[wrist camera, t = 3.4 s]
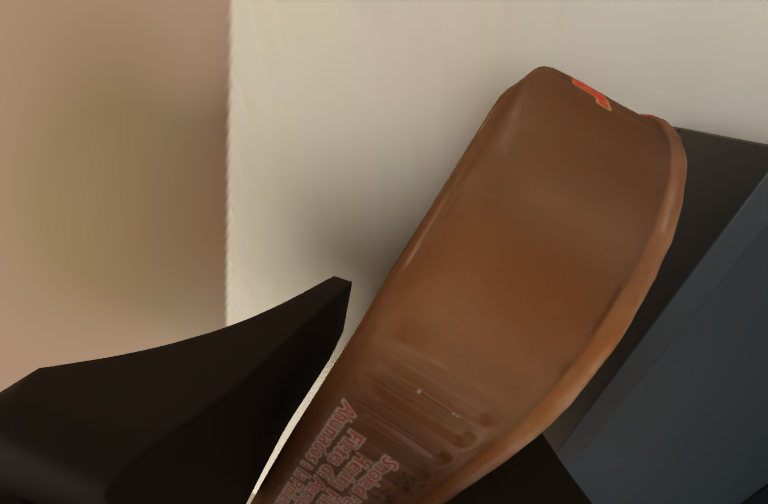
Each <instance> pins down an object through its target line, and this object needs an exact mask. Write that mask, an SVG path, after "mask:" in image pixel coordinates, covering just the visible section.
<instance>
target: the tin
mask: <svg viewBox="0 0 768 504" xmlns="http://www.w3.org/2000/svg"><path fill="white" fill-rule="evenodd" d="M686 175H687V158H686V153H685V150H684V147H683V144H682V141H681V137H680V136H679V134H678V133H677V131H676V130H675V129H674V128H673V127H672V126H671V125H670V124H669V123H667V122H666V121H665V120H663V119H660V118H658V117H655V116H653V115H646V114H637V113H635V112H633V111H631V110H629V109H628V108H626V107H624V106H622V105H620V104H618V103H616V102H615V101H613V100H611V99H610V98H608V97H606V96H604V95H603V94H601V93H599V92H597V91H596V90H594V89H592V88H591V87H589V86H587V85H585V84H584V83H582V82H580V81H578V80H576V79H574V78H573V77H570V76H568V75H566V74H564V73H562V72H560V71H558V70H556V69H554V68H550V67H546V66H543V67H538V68H536V69H534V70H533V71H531V72H530V73H529V74H528V75H526V76H525V77H524V78H523V79H522V80H520V81H519V82H518V83H516V84H515V85H513V86H512V87H510V88H509V89H507V90H506V91H505V92H504V93H503V94H502V95H501V96H500V97H499V99H498V100H497V101H496V103H495V104H494V106H493V107H492V109H491V110H490V112H489V114H488V115H487V117H486V118H485V120H484V122H483V123H482V125H481V127H480V128H479V130H478V132H477V133H476V135H475V136H474V138H473V140H472V141H471V143H470V145H469V146H468V148H467V149H466V151H465V153H464V154H463V156H462V158H461V159H460V161H459V163H458V164H457V166H456V168H455V169H454V171H453V173H452V174H451V176H450V177H449V179H448V181H447V182H446V184H445V185H444V187H443V189H442V190H441V192H440V193H439V195H438V197H437V198H436V200H435V202H434V203H433V205H432V206H431V208H430V210H429V211H428V213H427V214H426V216H425V217H424V219H423V221H422V222H421V224H420V225H419V227H418V229H417V230H416V232H415V233H414V235H413V236H412V238H411V240H410V241H409V243H408V244H407V246H406V248H405V249H404V251H403V252H402V254H401V256H400V257H399V259H398V260H397V262H396V264H395V265H394V267H393V269H392V270H391V272H390V273H389V275H388V277H387V278H386V280H385V282H384V283H383V285H382V287H381V288H380V290H379V292H378V293H377V295H376V297H375V299H374V300H373V302H372V304H371V305H370V307H369V309H368V310H367V312H366V314H365V316H364V317H363V319H362V321H361V323H360V324H359V326H358V328H357V329H356V331H355V333H354V334H353V336H352V337H351V339H350V341H349V342H348V344H347V345H346V347H345V348H344V350H343V352H342V353H341V355H340V356H339V358H338V359H337V361H336V362H335V364H334V366H333V367H332V369H331V370H330V372H329V374H328V375H327V377H326V378H325V380H324V382H323V383H322V385H321V386H320V388H319V390H318V391H317V393H316V394H315V396H314V398H313V399H312V401H311V402H310V404H309V405H308V407H307V409H306V410H305V412H304V413H303V415H302V417H301V418H300V420H299V421H298V423H297V425H296V426H295V428H294V429H293V431H292V433H291V434H290V436H289V438H288V439H287V441H286V443H285V444H284V446H283V448H282V449H281V451H280V453H279V455H278V456H277V458H276V460H275V461H274V463H273V465H272V467H271V468H270V470H269V472H268V474H267V475H266V477H265V479H264V481H263V482H262V484H261V486H260V488H259V490H258V491H257V493H256V495H255V497H254V498H253V500H252V502H251V504H445V503H447V502H448V501H450V500H451V499H453V498H454V497H455V496H456V495H458V494H459V493H460V492H461V491H463V490H464V489H466V488H467V487H469V486H470V485H472V484H473V483H475V482H476V481H478V480H479V479H481V478H482V477H483V476H485V475H486V474H488V473H489V472H491V471H492V470H494V469H495V468H497V467H498V466H500V465H501V464H502V463H504V462H505V461H507V460H508V459H509V458H511V457H512V456H513V455H514V454H516V453H517V452H518V451H519V450H521V449H522V448H523V447H525V446H526V445H527V444H528V443H530V442H531V441H532V440H534V439H535V438H536V437H537V436H538V435H540V434H541V433H542V432H543V431H544V430H545V429H546V428H548V427H549V426H550V425H551V424H552V423H553V422H554V421H555V420H556V419H557V418H558V417H559V416H560V415H561V414H562V413H563V412H564V411H565V410H566V409H567V408H568V407H569V406H570V405H571V404H572V402H573V401H574V400H575V399H576V397H577V396H578V395H579V394H580V392H581V391H582V390H583V389H584V387H585V386H586V385H587V384H588V382H589V381H590V380H591V379H592V377H593V376H594V374H595V373H596V372H597V370H598V369H599V368H600V366H601V365H602V364H603V363H604V362H605V360H606V359H607V358H608V357H609V355H610V354H611V353H612V352H613V350H614V349H615V347H616V346H617V344H618V343H619V342H620V340H621V339H622V337H623V335H624V334H625V332H626V330H627V329H628V327H629V325H630V324H631V322H632V320H633V318H634V316H635V314H636V312H637V310H638V309H639V307H640V305H641V304H642V302H643V300H644V298H645V296H646V295H647V293H648V291H649V289H650V287H651V285H652V284H653V282H654V280H655V279H656V276H657V273H658V270H659V268H660V265H661V263H662V261H663V259H664V257H665V255H666V253H667V251H668V249H669V247H670V245H671V243H672V240H673V237H674V233H675V230H676V226H677V222H678V219H679V215H680V212H681V208H682V204H683V196H684V187H685V182H686Z"/></svg>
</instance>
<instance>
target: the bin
mask: <svg viewBox="0 0 768 504" xmlns="http://www.w3.org/2000/svg"><path fill="white" fill-rule="evenodd" d="M673 128H674V129H675V130H676V131H677V133H678V134H679V136H680V137H681V141H682V144H683V147H684V150H685V153H686V158H687V175H686V182H685V187H684V196H683V204H682V208H681V212H680V215H679V219H678V222H677V226H676V230H675V233H674V237H673V240H672V243H671V245H670V247H669V249H668V251H667V253H666V255H665V257H664V259H663V261H662V263H661V265H660V268H659V270H658V273H657V276H656V279H655V280H654V282H653V284H652V285H651V287H650V289H649V291H648V293H647V295H646V296H645V298H644V300H643V302H642V304H641V305H640V307H639V309H638V310H637V312H636V314H635V316H634V318H633V320H632V322H631V324H630V325H629V327H628V329H627V330H626V332H625V334H624V335H623V337H622V339H621V340H620V342H619V343H618V344H617V346H616V347H615V349H614V350H613V352H612V353H611V354H610V355H609V357H608V358H607V359H606V360H605V362H604V363H603V364H602V365H601V366H600V368H599V369H598V370H597V372H596V373H595V374H594V376H593V377H592V379H591V380H590V381H589V382H588V384H587V385H586V386H585V387H584V389H583V390H582V391H581V392H580V394H579V395H578V396H577V397H576V399H575V400H574V401H573V402H572V404H571V405H570V406H569V407H568V408H567V409H566V410H565V411H564V412H563V413H562V414H561V415H560V416H559V417H558V418H557V419H556V420H555V421H554V422H553V423H552V424H551V425H550V426H549V427H548V428H546V429H545V430H544V431H543V432H542V433H543V435H544V436H545V438H546V440H547V441H548V443H549V444H550V446H551V447H552V449H553V450H554V452H555V453H556V455H557V456H558V458H559V459H560V461H561V462H562V463H563V465H564V466H565V468H566V469H567V470H568V472H569V473H570V475H571V476H572V477H573V479H574V480H575V481H576V483H577V484H578V485H579V487H580V488H581V489H582V491H583V492H584V493H585V495H586V496H587V497H588V499H589V500H590V501H591V503H592V504H768V145H767V144H762V143H756V142H751V141H746V140H741V139H736V138H730V137H725V136H720V135H715V134H709V133H704V132H699V131H694V130H689V129H683V128H678V127H673Z"/></svg>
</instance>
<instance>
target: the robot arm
mask: <svg viewBox="0 0 768 504" xmlns="http://www.w3.org/2000/svg"><path fill="white" fill-rule="evenodd" d="M351 285H352V282H351V281H348V280H345V279H342V278H338V277H335V276H333V277H331V278H329V279H327V280H325V281H324V282H322V283H320V284H318V285H316V286H315V287H313V288H311V289H309V290H307V291H305V292H304V293H302V294H300V295H298V296H296V297H294V298H292V299H290V300H288V301H286V302H284V303H282V304H280V305H278V306H276V307H274V308H272V309H270V310H267V311H265V312H263V313H261V314H259V315H256V316H254V317H252V318H249V319H247V320H244V321H242V322H239V323H236V324H234V325H231V326H228V327H225V328H222V329H220V330H217V331H214V332H211V333H207V334H204V335H200V336H197V337H194V338H190V339H186V340H183V341H179V342H176V343H172V344H168V345H164V346H160V347H156V348H152V349H147V350H143V351H138V352H134V353H128V354H124V355H119V356H113V357H108V358H102V359H96V360H90V361H84V362H77V363H71V364H64V365H58V366H52V367H45V368H39V369H37V370H35V371H34V372H32V373H30V374H29V375H27V376H26V377H24V378H22V379H21V380H19V381H18V382H16V383H14V384H13V385H11V386H10V387H8V388H7V389H5V390H3V391H2V392H0V504H246V503H247V501H248V499H249V497H250V495H251V493H252V491H253V489H254V487H255V485H256V483H257V481H258V479H259V477H260V475H261V473H262V471H263V469H264V467H265V465H266V464H267V462H268V460H269V458H270V456H271V454H272V452H273V450H274V448H275V446H276V444H277V443H278V441H279V439H280V437H281V435H282V433H283V431H284V430H285V428H286V426H287V425H288V423H289V421H290V420H291V418H292V416H293V415H294V413H295V412H296V410H297V409H298V407H299V406H300V404H301V403H302V401H303V399H304V398H305V396H306V395H307V393H308V392H309V390H310V389H311V387H312V386H313V384H314V383H315V381H316V379H317V378H318V376H319V375H320V373H321V372H322V370H323V369H324V367H325V365H326V364H327V362H328V361H329V359H330V357H331V355H332V353H333V351H334V349H335V347H336V345H337V343H338V341H339V339H340V337H341V335H342V333H343V329H344V324H345V318H346V313H347V307H348V302H349V296H350V291H351ZM445 504H592V503H591V501H590V500H589V499H588V497H587V496H586V495H585V493H584V492H583V491H582V489H581V488H580V487H579V485H578V484H577V483H576V481H575V480H574V479H573V477H572V476H571V475H570V473H569V472H568V470H567V469H566V468H565V466H564V465H563V463H562V462H561V461H560V459H559V458H558V456H557V455H556V453H555V452H554V450H553V449H552V447H551V446H550V444H549V443H548V441H547V440H546V438H545V436H544V435H543V433H541V434H540V435H538V436H537V437H536V438H535V439H534V440H532V441H531V442H530V443H528V444H527V445H526V446H525V447H523V448H522V449H521V450H519V451H518V452H517V453H516V454H514V455H513V456H512V457H511V458H509V459H508V460H507V461H505V462H504V463H502V464H501V465H500V466H498V467H497V468H495V469H494V470H492V471H491V472H489V473H488V474H486V475H485V476H483V477H482V478H481V479H479V480H478V481H476V482H475V483H473V484H472V485H470V486H469V487H467V488H466V489H464V490H463V491H461V492H460V493H459V494H458V495H456V496H455V497H454V498H453V499H451V500H450V501H448V502H447V503H445Z"/></svg>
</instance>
